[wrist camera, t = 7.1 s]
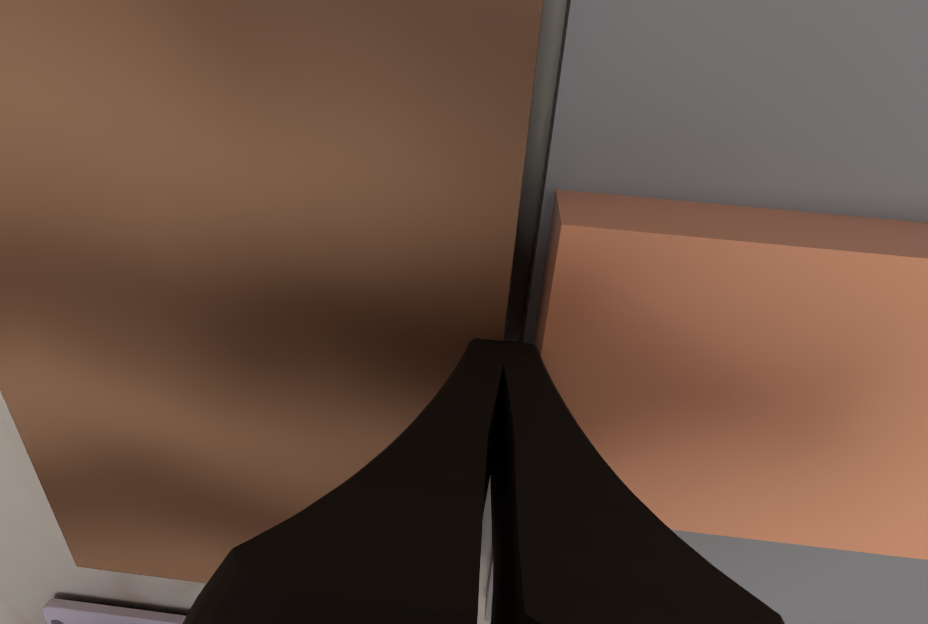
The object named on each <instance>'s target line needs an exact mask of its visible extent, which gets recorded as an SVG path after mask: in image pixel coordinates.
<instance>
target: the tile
mask: <svg viewBox="0 0 928 624" xmlns="http://www.w3.org/2000/svg"><path fill="white" fill-rule="evenodd" d="M533 344H534V345H535V346H536V348H537V349H538V350H539V353H540V356H541V358H542V360H543V363H544V365H545V367H546V369H547V371H548V373H549V375H550V377H551V379H552V381H553V383H554V385H555V387H556V389H557V390H558V392H559V394H560V396H561V397H562V399H563V401H564V402H565V404H566V406H567V407H568V409H569V411H570V412H571V414H572V415H573V417H574V419H575V420H576V422H577V423H578V425H579V426H580V428H581V429H582V430H583V432H584V433H585V435H586V436H587V438H588V439H589V440H590V442H591V443H592V445H593V446H594V447H595V449H596V450H597V451H598V453H599V454H600V455H601V456H602V458H603V459H604V460H605V461H606V463H607V464H608V465H609V466H610V467H611V469H612V470H613V471H614V472H615V473H616V475H617V476H618V477H619V478H620V479H621V480H622V482H623V483H624V484H625V485H626V486H627V487H628V488H629V489H630V490H631V491H632V492H633V494H634V495H635V496H636V497H638V498H639V499H640V500H641V501H642V502H643V503H644V504H645V505H646V506H647V507H648V508H649V509H650V510H651V511H652V512H653V513H654V514H655V515H656V516H657V517H658V518H659V519H660V520H661V521H662V522H663V523H664V524H665V525H666V526H667V527H669V528H670V529H671V530H678V531H687V532H695V533H704V534H712V535H721V536H729V537H738V538H746V539H755V540H763V541H771V542H780V543H788V544H797V545H805V546H814V547H822V548H831V549H839V550H848V551H856V552H864V553H873V554H881V555H890V556H898V557H907V558H915V559H924V560H928V223H924V222H913V221H902V220H891V219H880V218H869V217H858V216H847V215H835V214H824V213H813V212H802V211H791V210H780V209H769V208H758V207H746V206H735V205H724V204H713V203H702V202H691V201H680V200H669V199H657V198H646V197H635V196H624V195H613V194H602V193H591V192H580V191H568V190H557V189H556V190H555V197H554V204H553V210H552V217H551V224H550V231H549V237H548V244H547V251H546V258H545V264H544V271H543V278H542V285H541V291H540V298H539V305H538V312H537V318H536V325H535V332H534V338H533Z"/></svg>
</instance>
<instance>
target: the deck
mask: <svg viewBox="0 0 928 624" xmlns="http://www.w3.org/2000/svg"><path fill="white" fill-rule="evenodd" d="M542 9H543V0H0V390H1V393H2V395H3V397H4V400H5V402H6V404H7V407H8V409H9V411H10V413H11V416H12V418H13V420H14V423H15V425H16V427H17V430H18V432H19V434H20V437H21V439H22V441H23V443H24V446H25V448H26V450H27V453H28V455H29V457H30V460H31V462H32V464H33V467H34V469H35V471H36V473H37V476H38V478H39V480H40V483H41V485H42V487H43V490H44V492H45V494H46V497H47V499H48V501H49V503H50V506H51V508H52V510H53V513H54V515H55V517H56V520H57V522H58V524H59V527H60V529H61V531H62V533H63V536H64V538H65V540H66V543H67V545H68V547H69V550H70V552H71V554H72V557H73V559H74V561H75V563H76V566H77V567H84V568H92V569H100V570H108V571H116V572H123V573H131V574H139V575H147V576H155V577H162V578H170V579H178V580H186V581H193V582H201V583H208V581H209V580H210V578H211V577H212V575H213V574H214V573H215V571H216V570H217V568H218V567H219V566H220V564H221V563H222V561H223V560H224V559H225V557H226V556H227V554H228V553H229V552H230V550H231V549H232V548H234V547H236V546H238V545H240V544H242V543H244V542H246V541H248V540H250V539H252V538H253V537H255V536H257V535H259V534H261V533H263V532H265V531H266V530H268V529H270V528H272V527H274V526H276V525H278V524H279V523H281V522H283V521H285V520H287V519H289V518H290V517H292V516H294V515H295V514H297V513H299V512H300V511H302V510H303V509H305V508H306V507H308V506H309V505H311V504H312V503H314V502H315V501H317V500H318V499H320V498H321V497H323V496H324V495H326V494H327V493H329V492H330V491H332V490H333V489H335V488H336V487H338V486H339V485H341V484H342V483H343V482H345V481H346V480H347V479H349V478H350V477H351V476H353V475H354V474H355V473H357V472H358V471H359V470H360V469H362V468H363V467H364V466H365V465H366V464H368V463H369V462H370V461H371V460H372V459H374V458H375V457H376V456H377V455H378V454H380V453H381V452H382V451H383V450H384V449H385V448H386V447H387V446H389V445H390V444H391V443H392V442H393V441H394V440H395V439H396V438H397V437H398V436H399V435H400V434H401V433H402V432H403V431H404V430H405V429H406V428H407V427H408V426H409V425H410V424H411V423H412V422H413V421H414V420H415V419H416V417H417V416H418V415H419V414H420V413H421V412H422V411H423V409H424V408H425V407H426V406H427V405H428V404H429V402H430V401H431V400H432V399H433V398H434V397H435V395H436V394H437V393H438V391H439V390H440V389H441V387H442V386H443V385H444V383H445V382H446V381H447V379H448V378H449V376H450V375H451V374H452V372H453V371H454V369H455V367H456V366H457V364H458V363H459V361H460V359H461V358H462V356H463V354H464V352H465V350H466V348H467V346H468V343H469V342H470V341H471V340H473V339H474V338H481V339H490V340H500V341H503V339H504V331H505V323H506V314H507V306H508V297H509V289H510V280H511V272H512V263H513V255H514V246H515V238H516V229H517V221H518V212H519V204H520V195H521V187H522V178H523V170H524V162H525V153H526V145H527V136H528V128H529V119H530V111H531V102H532V94H533V85H534V77H535V68H536V60H537V51H538V43H539V34H540V26H541V17H542Z"/></svg>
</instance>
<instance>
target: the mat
mask: <svg viewBox="0 0 928 624" xmlns="http://www.w3.org/2000/svg"><path fill="white" fill-rule="evenodd" d="M556 189H557V190H568V191H580V192H591V193H602V194H613V195H624V196H635V197H646V198H657V199H669V200H680V201H691V202H702V203H713V204H724V205H735V206H746V207H758V208H769V209H780V210H791V211H802V212H813V213H824V214H835V215H847V216H858V217H869V218H880V219H891V220H902V221H913V222H924V223H928V0H568V1H567V8H566V15H565V23H564V30H563V37H562V44H561V52H560V59H559V66H558V74H557V81H556V88H555V96H554V103H553V110H552V118H551V125H550V132H549V140H548V147H547V154H546V162H545V169H544V176H543V184H542V191H541V198H540V206H539V213H538V220H537V228H536V235H535V242H534V249H533V257H532V264H531V271H530V279H529V286H528V293H527V301H526V308H525V315H524V323H523V330H522V337H521V343H529V344H533V338H534V332H535V325H536V318H537V312H538V305H539V298H540V291H541V285H542V278H543V271H544V264H545V258H546V251H547V244H548V237H549V231H550V224H551V217H552V210H553V204H554V197H555V190H556ZM672 531H673V532H674V533H675V534H676V535H677V536H679V537H680V538H681V539H682V540H683V541H684V542H686V543H687V544H688V545H689V546H690V547H692V548H693V549H694V550H695V551H696V552H698V553H699V554H700V555H701V556H702V557H704V558H705V559H706V560H707V561H708V562H710V563H711V564H712V565H713V566H715V567H716V568H717V569H718V570H720V571H721V572H722V573H724V574H725V575H726V576H728V577H729V578H731V579H732V580H733V581H735V582H736V583H737V584H739V585H740V586H741V587H743V588H744V589H746V590H747V591H748V592H750V593H751V594H752V595H754V596H755V597H756V598H758V599H759V600H761V601H762V602H763V603H765V604H766V605H767V606H769V607H770V608H771V609H773V610H774V611H775V612H777V613H778V614H780V615H781V617H782V619H783V621H784V623H785V624H928V560H924V559H915V558H907V557H898V556H890V555H881V554H873V553H864V552H856V551H848V550H839V549H831V548H822V547H814V546H805V545H797V544H788V543H780V542H771V541H763V540H755V539H746V538H738V537H729V536H721V535H712V534H704V533H695V532H687V531H678V530H672ZM492 594H493V550H492V557H491V564H490V572H489V579H488V586H487V594H486V605H485V620H487V621H491V610H492Z"/></svg>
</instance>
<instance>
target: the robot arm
mask: <svg viewBox="0 0 928 624" xmlns="http://www.w3.org/2000/svg"><path fill="white" fill-rule="evenodd" d="M490 476H491V512H492V545H493V594H492V610H491V624H785V623H784V621H783V619H782V617H781V615H780V614H778V613H777V612H775V611H774V610H773V609H771V608H770V607H769V606H767V605H766V604H765V603H763V602H762V601H761V600H759V599H758V598H756V597H755V596H754V595H752V594H751V593H750V592H748V591H747V590H746V589H744V588H743V587H741V586H740V585H739V584H737V583H736V582H735V581H733V580H732V579H731V578H729V577H728V576H726V575H725V574H724V573H722V572H721V571H720V570H718V569H717V568H716V567H715V566H713V565H712V564H711V563H710V562H708V561H707V560H706V559H705V558H704V557H702V556H701V555H700V554H699V553H698V552H696V551H695V550H694V549H693V548H692V547H690V546H689V545H688V544H687V543H686V542H684V541H683V540H682V539H681V538H680V537H679V536H677V535H676V534H675V533H674V532H673V531H672V530H671V529H670V528H669V527H667V526H666V525H665V524H664V523H663V522H662V521H661V520H660V519H659V518H658V517H657V516H656V515H655V514H654V513H653V512H652V511H651V510H650V509H649V508H648V507H647V506H646V505H645V504H644V503H643V502H642V501H641V500H640V499H639V498H638V497H636V496H635V495H634V494H633V492H632V491H631V490H630V489H629V488H628V487H627V486H626V485H625V484H624V483H623V482H622V480H621V479H620V478H619V477H618V476H617V475H616V473H615V472H614V471H613V470H612V469H611V467H610V466H609V465H608V464H607V463H606V461H605V460H604V459H603V458H602V456H601V455H600V454H599V453H598V451H597V450H596V449H595V447H594V446H593V445H592V443H591V442H590V440H589V439H588V438H587V436H586V435H585V433H584V432H583V430H582V429H581V428H580V426H579V425H578V423H577V422H576V420H575V419H574V417H573V415H572V414H571V412H570V411H569V409H568V407H567V406H566V404H565V402H564V401H563V399H562V397H561V396H560V394H559V392H558V390H557V389H556V387H555V385H554V383H553V381H552V379H551V377H550V375H549V373H548V371H547V369H546V367H545V365H544V363H543V360H542V358H541V356H540V353H539V350H538V349H537V348H536V346H535V345H534V344H529V343H519V342H510V341H500V340H490V339H481V338H474V339H473V340H471V341H470V342H469V343H468V346H467V348H466V350H465V352H464V354H463V356H462V358H461V359H460V361H459V363H458V364H457V366H456V367H455V369H454V371H453V372H452V374H451V375H450V376H449V378H448V379H447V381H446V382H445V383H444V385H443V386H442V387H441V389H440V390H439V391H438V393H437V394H436V395H435V397H434V398H433V399H432V400H431V401H430V402H429V404H428V405H427V406H426V407H425V408H424V409H423V411H422V412H421V413H420V414H419V415H418V416H417V417H416V419H415V420H414V421H413V422H412V423H411V424H410V425H409V426H408V427H407V428H406V429H405V430H404V431H403V432H402V433H401V434H400V435H399V436H398V437H397V438H396V439H395V440H394V441H393V442H392V443H391V444H390V445H389V446H387V447H386V448H385V449H384V450H383V451H382V452H381V453H380V454H378V455H377V456H376V457H375V458H374V459H372V460H371V461H370V462H369V463H368V464H366V465H365V466H364V467H363V468H362V469H360V470H359V471H358V472H357V473H355V474H354V475H353V476H351V477H350V478H349V479H347V480H346V481H345V482H343V483H342V484H341V485H339V486H338V487H336V488H335V489H333V490H332V491H330V492H329V493H327V494H326V495H324V496H323V497H321V498H320V499H318V500H317V501H315V502H314V503H312V504H311V505H309V506H308V507H306V508H305V509H303V510H302V511H300V512H299V513H297V514H295V515H294V516H292V517H290V518H289V519H287V520H285V521H283V522H281V523H279V524H278V525H276V526H274V527H272V528H270V529H268V530H266V531H265V532H263V533H261V534H259V535H257V536H255V537H253V538H252V539H250V540H248V541H246V542H244V543H242V544H240V545H238V546H236V547H234V548H232V549H231V550H230V552H229V553H228V554H227V556H226V557H225V559H224V560H223V561H222V563H221V564H220V566H219V567H218V568H217V570H216V571H215V573H214V574H213V575H212V577H211V578H210V580H209V581H208V583H207V584H206V585H205V587H204V588H203V590H202V591H201V593H200V594H199V595H198V597H197V599H196V600H195V602H194V604H193V606H192V607H191V609H190V611H189V613H188V614H187V616H186V615H178V614H171V613H163V612H155V611H148V610H140V609H132V608H125V607H117V606H110V605H102V604H94V603H87V602H79V601H72V600H64V599H51V600H49V601H48V602H47V604H46V605H45V606H44V607H43V609H42V614H43V616H44V618H45V620H46V622H47V624H477V615H478V593H479V573H480V554H481V536H482V519H483V512H484V506H485V501H486V495H487V489H488V484H489V478H490Z"/></svg>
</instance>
